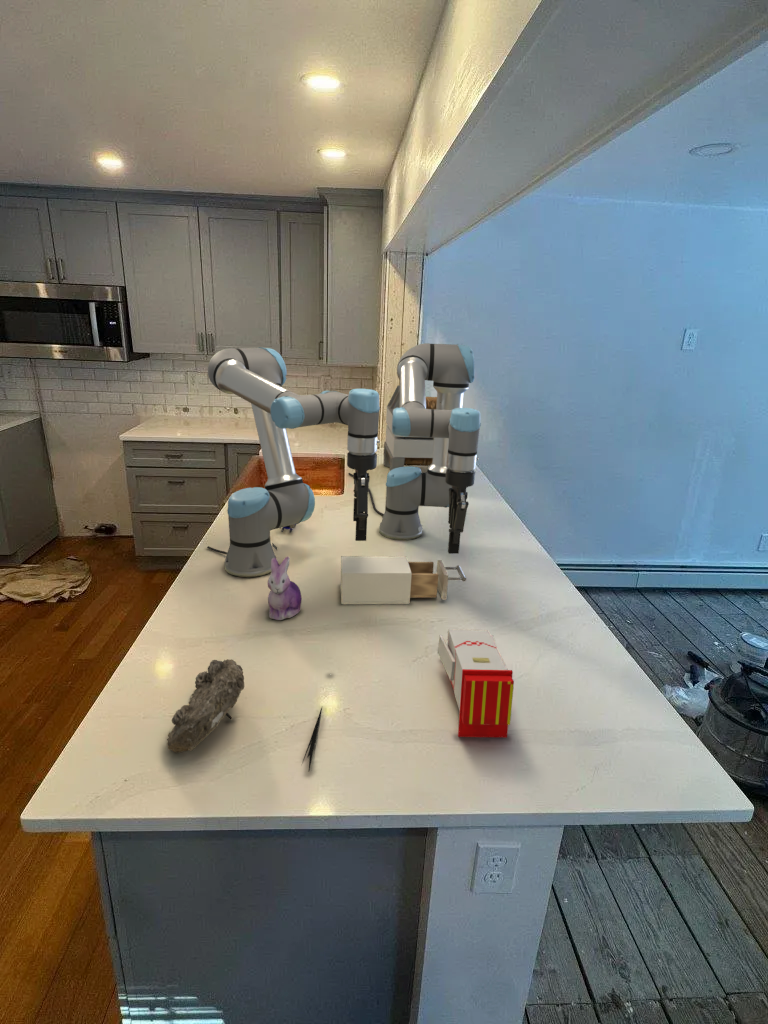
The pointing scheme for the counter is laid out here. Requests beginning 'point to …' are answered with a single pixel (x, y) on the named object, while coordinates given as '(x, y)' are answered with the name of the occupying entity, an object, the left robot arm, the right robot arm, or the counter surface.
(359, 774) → the counter surface
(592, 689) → the counter surface
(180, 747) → the fossil
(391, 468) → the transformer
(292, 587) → the figurine
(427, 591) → the drawer
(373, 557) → the cabinet
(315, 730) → the feather
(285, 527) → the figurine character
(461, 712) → the toy
